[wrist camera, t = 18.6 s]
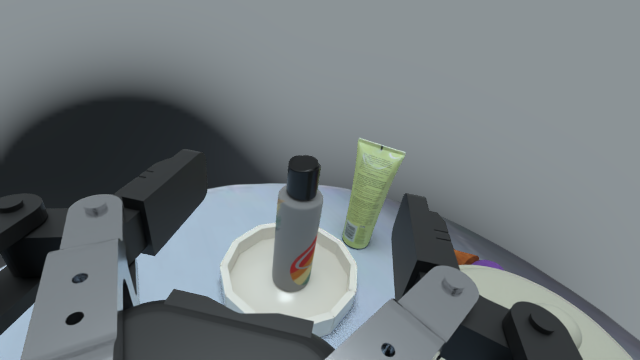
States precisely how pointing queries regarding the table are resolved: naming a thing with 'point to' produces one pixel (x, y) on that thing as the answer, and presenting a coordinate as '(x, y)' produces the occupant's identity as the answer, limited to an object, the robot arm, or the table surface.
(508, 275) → the canister
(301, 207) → the lotion bottle
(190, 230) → the table surface
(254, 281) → the bowl
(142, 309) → the robot arm
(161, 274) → the table surface
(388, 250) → the table surface
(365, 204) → the tube
